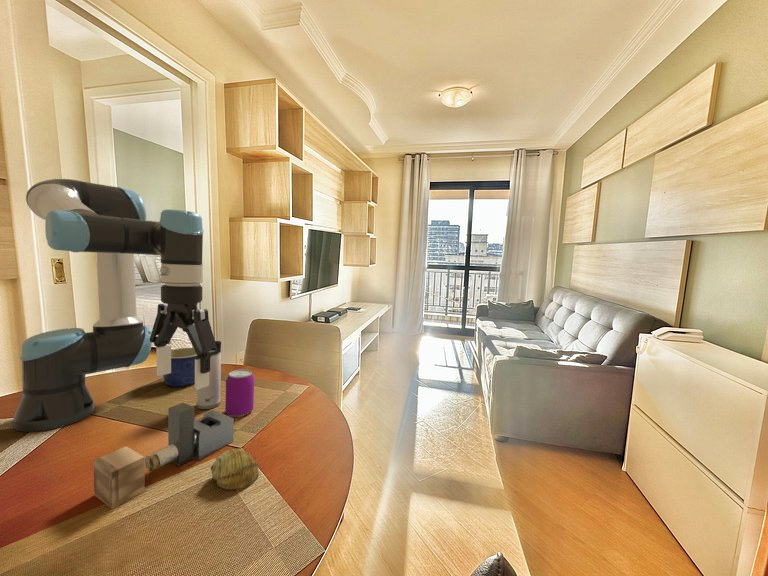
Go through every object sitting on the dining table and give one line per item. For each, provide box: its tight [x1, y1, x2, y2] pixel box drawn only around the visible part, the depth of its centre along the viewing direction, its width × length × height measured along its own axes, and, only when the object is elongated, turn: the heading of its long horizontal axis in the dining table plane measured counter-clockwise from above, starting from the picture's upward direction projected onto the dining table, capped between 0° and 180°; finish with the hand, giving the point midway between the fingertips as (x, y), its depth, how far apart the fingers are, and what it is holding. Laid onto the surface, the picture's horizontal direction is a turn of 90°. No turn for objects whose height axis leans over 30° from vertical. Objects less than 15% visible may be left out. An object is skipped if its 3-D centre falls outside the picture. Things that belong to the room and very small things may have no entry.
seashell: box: [210, 448, 260, 491], centre depth 67 cm, size 10×7×8 cm
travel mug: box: [196, 340, 222, 410], centre depth 97 cm, size 6×7×20 cm
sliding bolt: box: [144, 402, 218, 472], centre depth 72 cm, size 16×4×12 cm, turn 154°
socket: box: [93, 446, 146, 510], centre depth 60 cm, size 5×7×7 cm
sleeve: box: [193, 410, 235, 461], centre depth 77 cm, size 9×6×7 cm
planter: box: [162, 347, 197, 387], centre depth 112 cm, size 12×12×11 cm
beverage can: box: [225, 368, 255, 418], centre depth 94 cm, size 8×8×12 cm
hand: (182, 380), depth 69 cm, fingers open, 13 cm apart
